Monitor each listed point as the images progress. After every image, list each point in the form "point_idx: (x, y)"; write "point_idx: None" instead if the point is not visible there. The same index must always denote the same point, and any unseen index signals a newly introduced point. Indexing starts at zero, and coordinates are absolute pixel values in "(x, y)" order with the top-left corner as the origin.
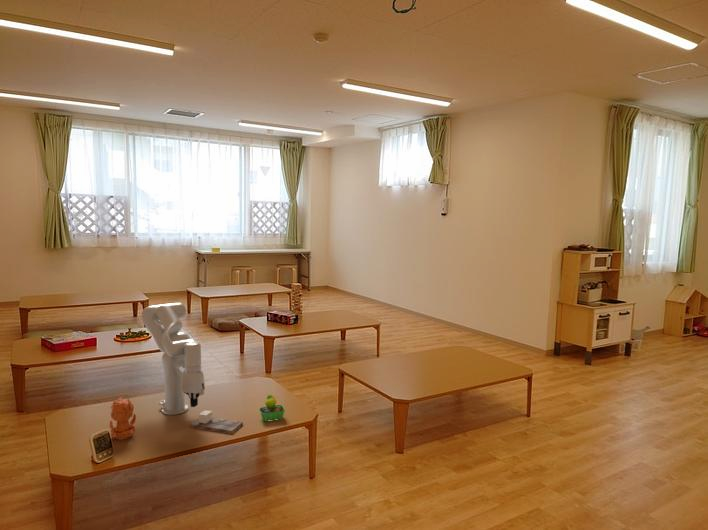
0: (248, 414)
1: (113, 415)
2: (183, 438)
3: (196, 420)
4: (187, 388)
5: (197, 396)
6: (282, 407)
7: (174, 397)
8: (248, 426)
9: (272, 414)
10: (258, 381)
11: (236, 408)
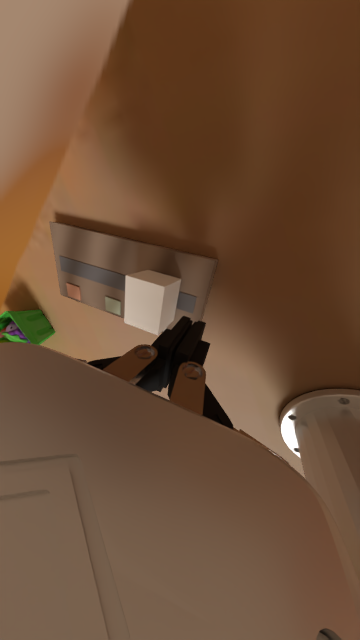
0: (89, 355)
1: None
2: (209, 115)
3: (200, 303)
4: (136, 515)
5: (113, 359)
6: None
7: None
8: (53, 282)
9: (6, 318)
10: None
11: None
